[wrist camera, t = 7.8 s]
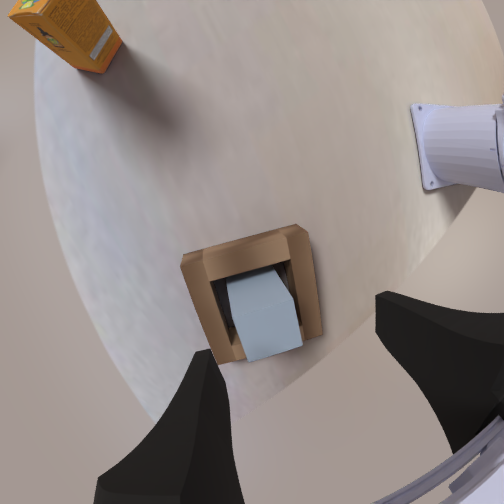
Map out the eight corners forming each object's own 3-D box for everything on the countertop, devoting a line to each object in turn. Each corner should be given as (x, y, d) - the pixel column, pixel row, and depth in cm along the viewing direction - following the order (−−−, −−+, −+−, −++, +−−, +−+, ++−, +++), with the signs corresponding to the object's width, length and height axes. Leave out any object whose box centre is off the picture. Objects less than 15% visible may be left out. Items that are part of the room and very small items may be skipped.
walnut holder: (296, 224, 20) (307, 231, 17) (312, 318, 23) (322, 334, 20) (183, 254, 19) (180, 266, 17) (216, 346, 22) (217, 365, 20)
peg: (270, 262, 20) (293, 298, 15) (279, 301, 22) (302, 345, 16) (225, 276, 20) (232, 317, 15) (237, 314, 21) (248, 362, 16)
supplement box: (127, 38, 13) (80, -34, 4) (104, 75, 14) (36, 20, 5) (94, 32, 13) (39, -28, 3) (73, 68, 13) (0, 23, 4)
